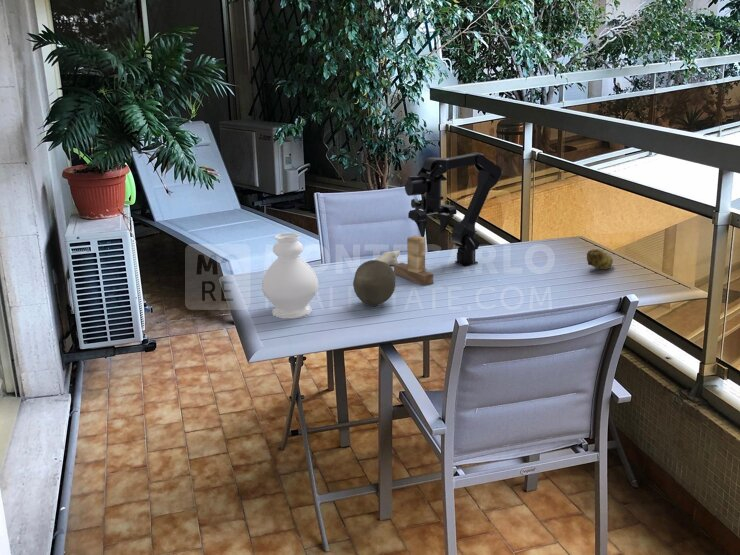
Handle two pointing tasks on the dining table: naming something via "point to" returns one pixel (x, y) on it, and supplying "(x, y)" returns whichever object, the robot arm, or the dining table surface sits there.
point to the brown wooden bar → (413, 274)
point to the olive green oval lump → (599, 259)
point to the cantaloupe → (374, 282)
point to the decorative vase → (289, 279)
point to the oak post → (416, 253)
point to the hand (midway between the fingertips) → (432, 235)
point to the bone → (389, 257)
